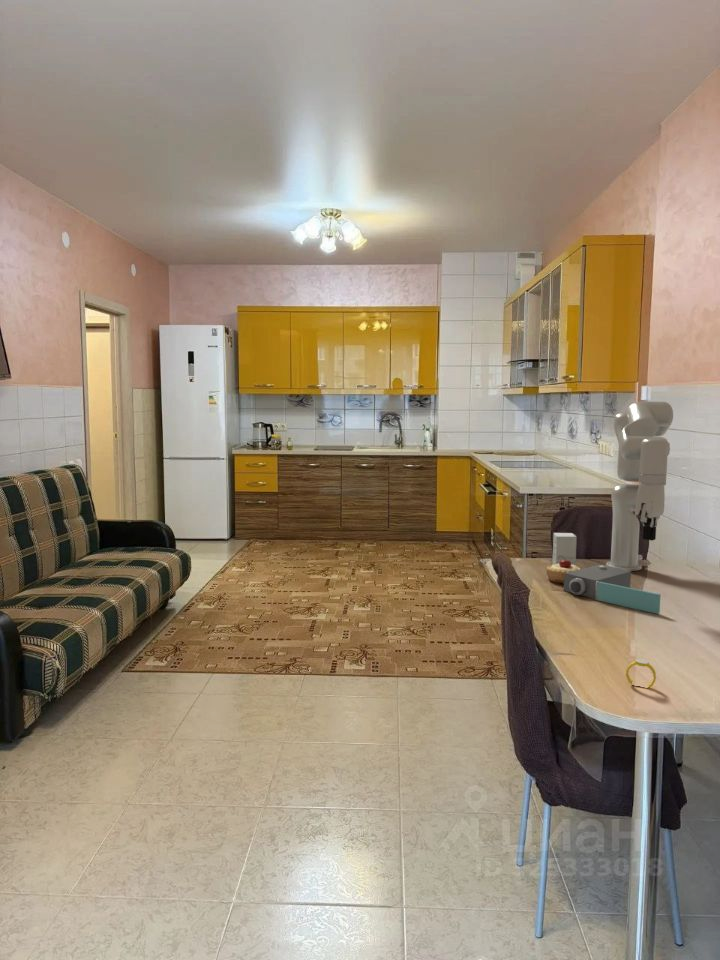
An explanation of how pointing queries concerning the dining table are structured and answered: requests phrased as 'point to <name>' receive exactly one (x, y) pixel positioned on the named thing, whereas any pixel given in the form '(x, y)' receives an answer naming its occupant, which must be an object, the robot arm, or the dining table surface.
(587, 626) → the dining table surface
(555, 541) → the supplement box
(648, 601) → the side door
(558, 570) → the pastry
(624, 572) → the camera body
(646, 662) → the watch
